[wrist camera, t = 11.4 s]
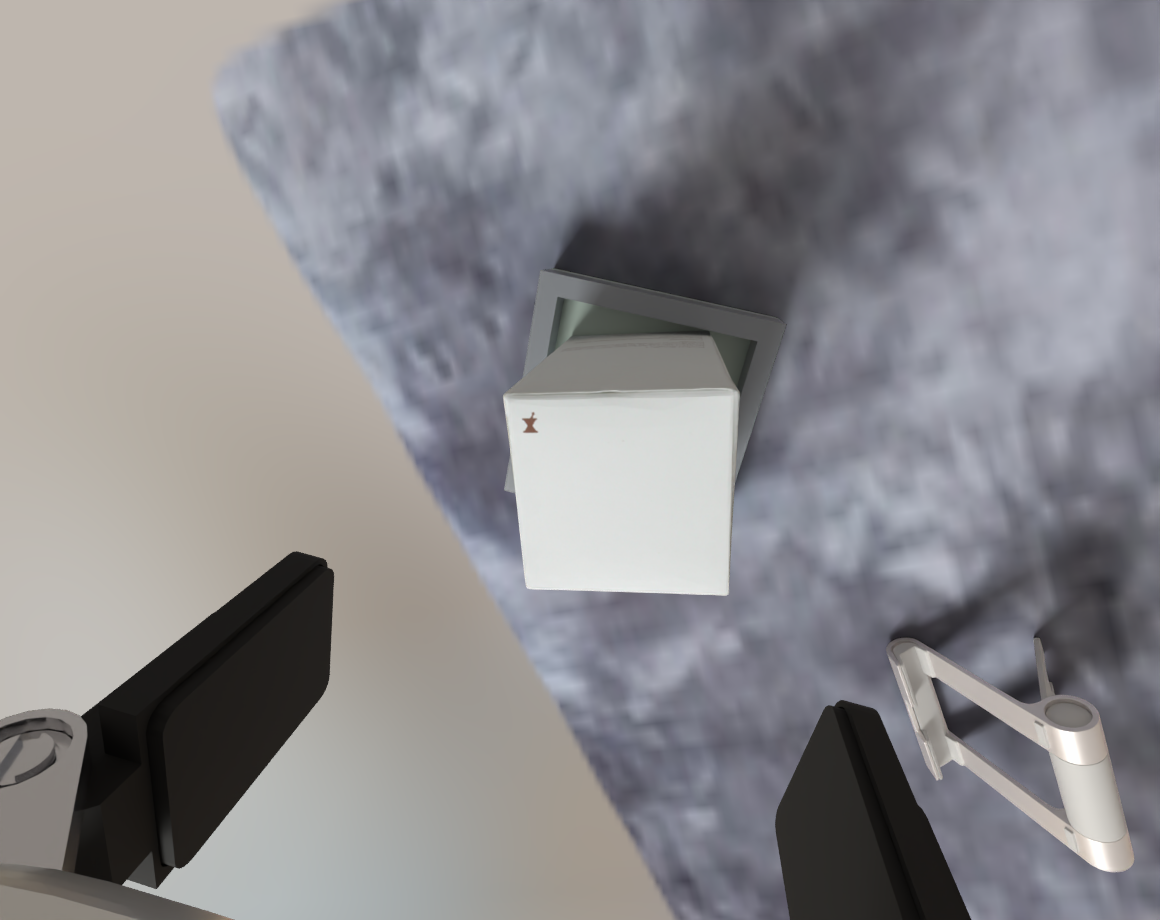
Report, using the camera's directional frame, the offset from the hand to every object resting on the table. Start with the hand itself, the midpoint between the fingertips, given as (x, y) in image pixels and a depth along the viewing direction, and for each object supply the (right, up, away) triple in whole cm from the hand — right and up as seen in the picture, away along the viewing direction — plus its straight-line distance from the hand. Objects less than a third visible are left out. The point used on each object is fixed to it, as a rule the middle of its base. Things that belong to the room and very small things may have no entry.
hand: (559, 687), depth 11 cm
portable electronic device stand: (+23, -9, +24) cm, 34 cm away
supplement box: (+4, +7, +20) cm, 21 cm away
